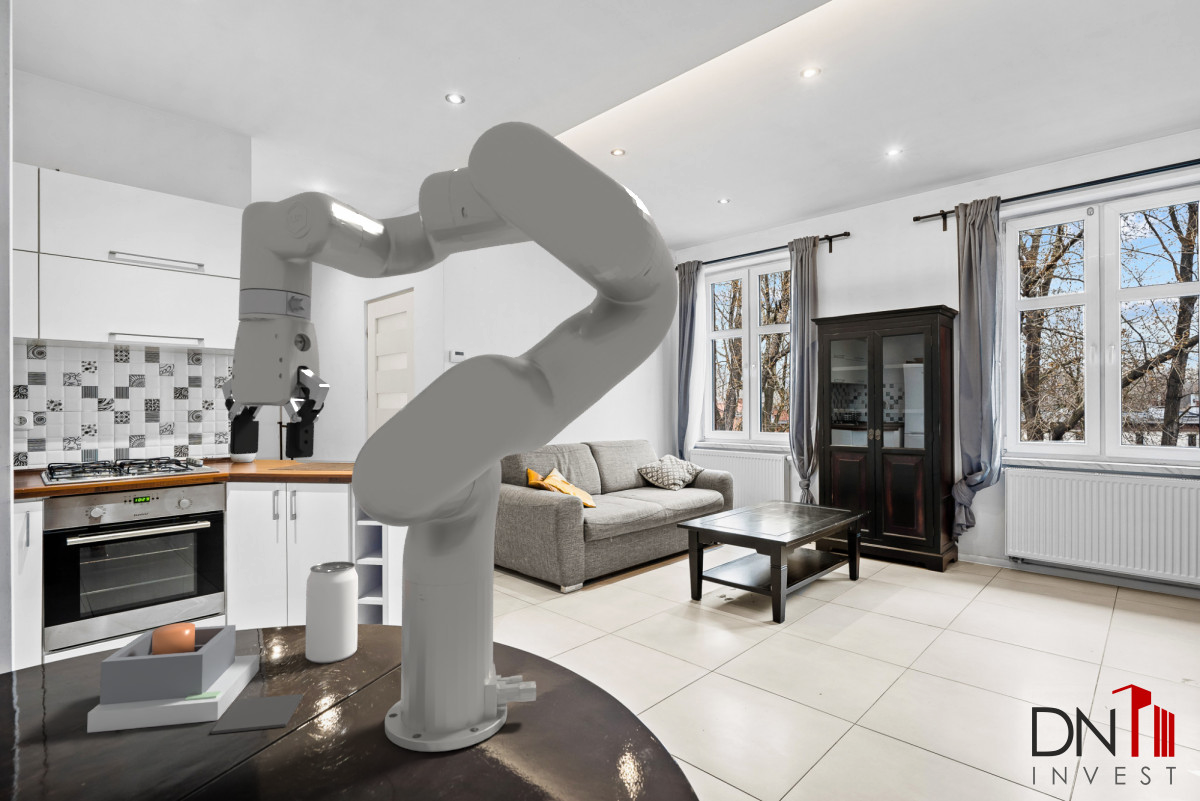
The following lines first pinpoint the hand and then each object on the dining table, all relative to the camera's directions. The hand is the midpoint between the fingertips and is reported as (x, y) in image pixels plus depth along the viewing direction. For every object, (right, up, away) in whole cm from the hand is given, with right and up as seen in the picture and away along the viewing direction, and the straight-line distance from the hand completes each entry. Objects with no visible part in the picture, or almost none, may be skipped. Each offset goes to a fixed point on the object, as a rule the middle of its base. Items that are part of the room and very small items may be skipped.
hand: (271, 455), depth 71 cm
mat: (+2, -28, -5) cm, 28 cm away
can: (+2, -28, +11) cm, 31 cm away
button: (-10, -23, -2) cm, 25 cm away
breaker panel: (-9, -28, -2) cm, 29 cm away
